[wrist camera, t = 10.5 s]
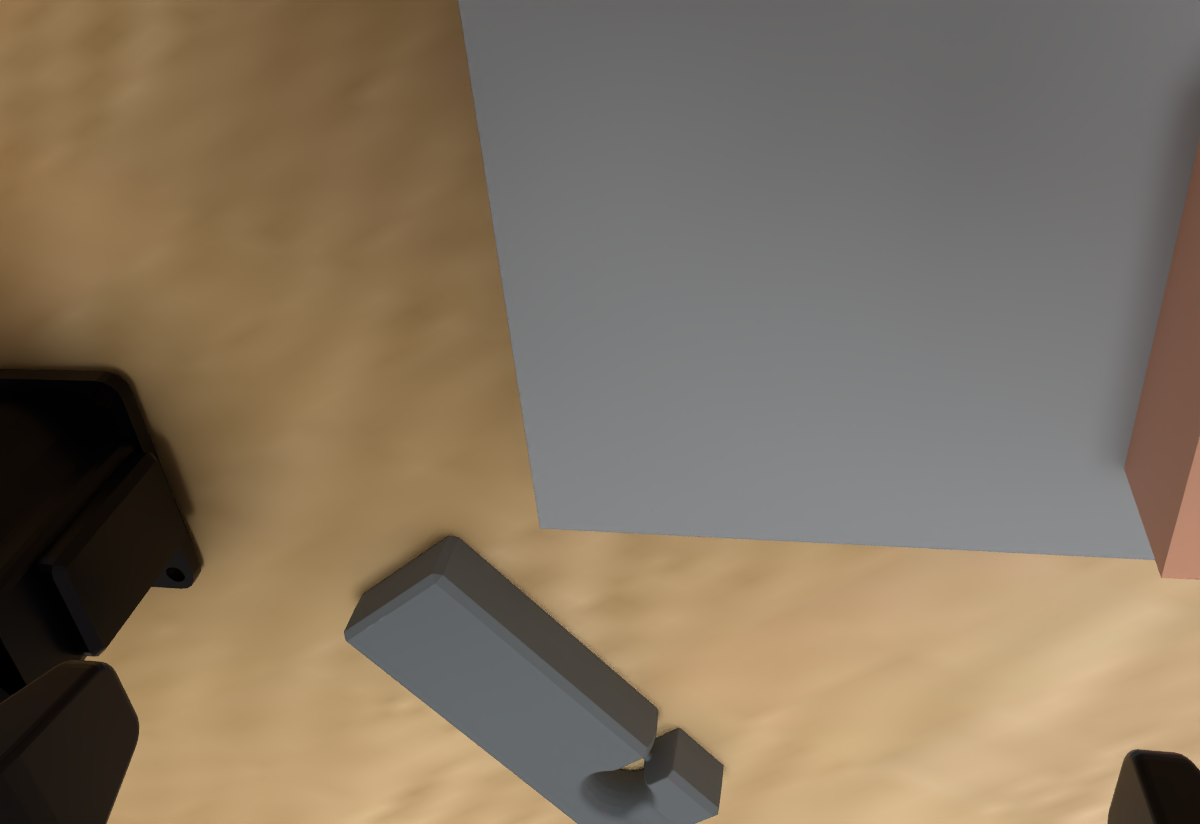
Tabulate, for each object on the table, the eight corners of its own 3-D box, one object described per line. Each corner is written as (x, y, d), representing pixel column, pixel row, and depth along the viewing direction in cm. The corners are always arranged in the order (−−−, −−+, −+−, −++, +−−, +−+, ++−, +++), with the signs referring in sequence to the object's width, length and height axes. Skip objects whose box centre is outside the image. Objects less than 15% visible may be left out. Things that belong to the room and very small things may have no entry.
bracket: (458, 519, 27) (434, 575, 25) (730, 756, 30) (723, 819, 29) (363, 584, 29) (335, 640, 27) (628, 800, 32) (616, 860, 31)
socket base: (551, 494, 25) (507, 625, 22) (472, -56, 19) (390, 12, 15) (1498, 537, 22) (1621, 703, 18) (1828, -133, 15) (2119, -67, 11)
